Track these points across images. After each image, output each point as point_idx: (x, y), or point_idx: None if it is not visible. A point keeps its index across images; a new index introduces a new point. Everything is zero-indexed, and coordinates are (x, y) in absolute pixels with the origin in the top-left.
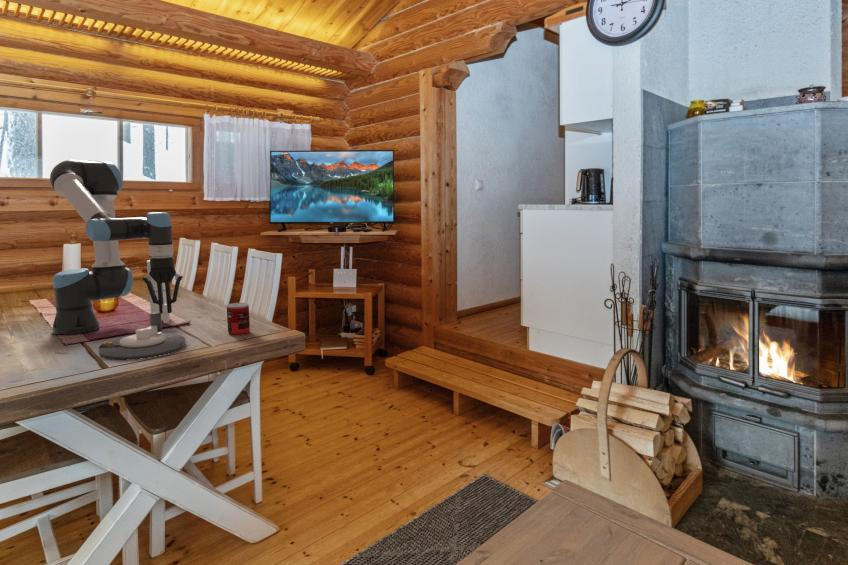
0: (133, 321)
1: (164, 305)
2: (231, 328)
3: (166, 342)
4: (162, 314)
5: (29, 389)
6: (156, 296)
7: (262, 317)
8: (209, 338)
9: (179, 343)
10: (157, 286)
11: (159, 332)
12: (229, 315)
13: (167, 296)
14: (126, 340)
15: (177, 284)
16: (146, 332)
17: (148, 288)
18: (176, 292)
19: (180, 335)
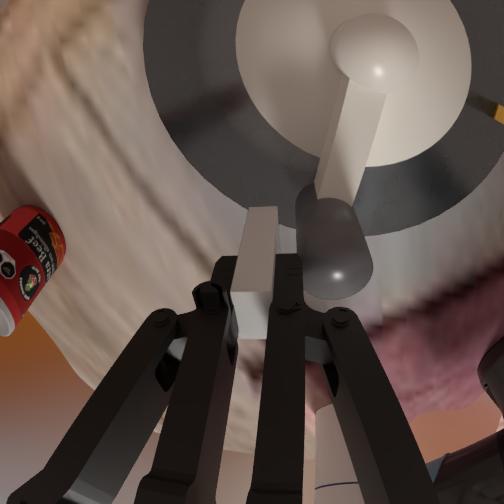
0: (402, 403)
1: (251, 289)
2: (28, 222)
3: (228, 26)
4: (333, 420)
5: None
6: (347, 468)
7: (77, 367)
8: (97, 177)
9: (152, 3)
10: (300, 486)
11: None
12: (3, 258)
13: (204, 362)
14: (440, 39)
15: (64, 457)
16: (344, 24)
17: (415, 453)
18: (106, 384)
19: (195, 162)
